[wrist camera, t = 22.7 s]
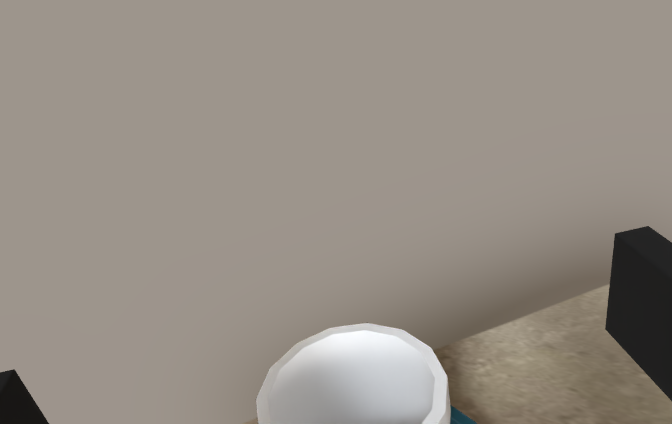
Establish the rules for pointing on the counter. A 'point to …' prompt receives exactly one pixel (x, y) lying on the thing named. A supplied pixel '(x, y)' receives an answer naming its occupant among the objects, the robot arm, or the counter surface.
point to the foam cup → (356, 380)
